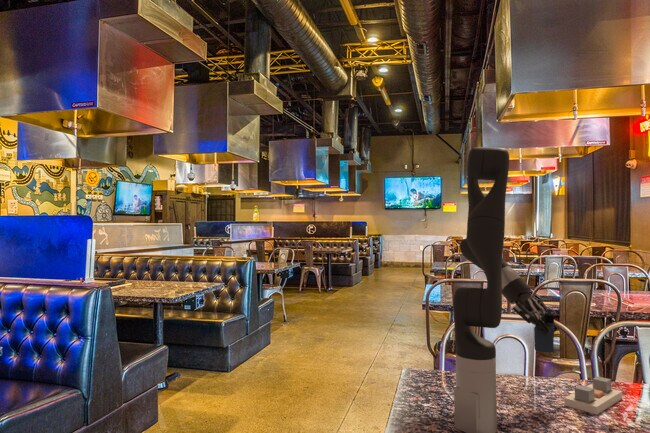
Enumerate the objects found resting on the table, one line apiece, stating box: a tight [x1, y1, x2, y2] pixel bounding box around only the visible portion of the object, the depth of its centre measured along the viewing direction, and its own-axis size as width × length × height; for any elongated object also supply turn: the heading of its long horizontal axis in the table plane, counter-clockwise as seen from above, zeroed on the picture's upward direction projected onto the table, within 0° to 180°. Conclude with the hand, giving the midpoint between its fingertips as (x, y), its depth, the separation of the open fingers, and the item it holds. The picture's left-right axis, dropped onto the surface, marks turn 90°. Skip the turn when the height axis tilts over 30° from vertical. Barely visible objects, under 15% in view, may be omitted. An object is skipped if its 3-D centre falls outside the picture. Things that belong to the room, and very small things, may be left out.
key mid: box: [594, 389, 603, 399], centre depth 122 cm, size 4×4×3 cm
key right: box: [592, 375, 612, 392], centre depth 126 cm, size 4×4×3 cm
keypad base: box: [563, 383, 623, 415], centre depth 122 cm, size 18×8×2 cm, turn 129°
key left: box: [574, 384, 595, 402], centre depth 118 cm, size 4×4×3 cm
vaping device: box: [533, 308, 556, 354], centre depth 126 cm, size 3×5×12 cm, turn 77°
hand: (551, 331), depth 124 cm, fingers closed on vaping device, 4 cm apart
